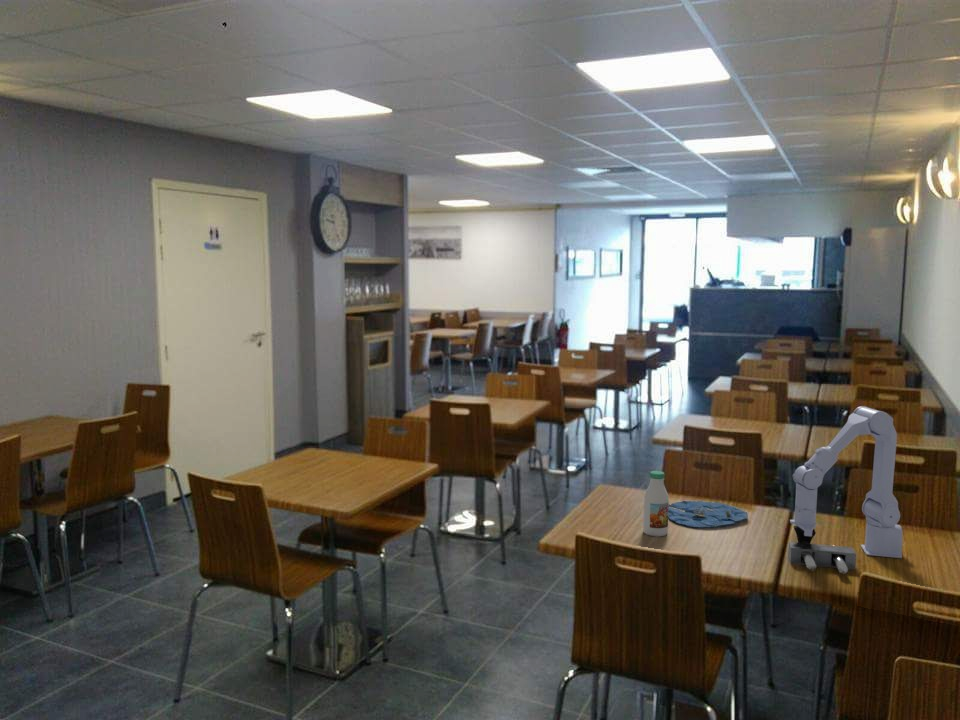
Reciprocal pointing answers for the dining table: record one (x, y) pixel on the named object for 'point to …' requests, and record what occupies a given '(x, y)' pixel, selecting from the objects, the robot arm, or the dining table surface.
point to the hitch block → (821, 554)
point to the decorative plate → (705, 513)
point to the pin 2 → (839, 562)
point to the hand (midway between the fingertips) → (803, 551)
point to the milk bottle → (656, 506)
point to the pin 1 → (808, 559)
